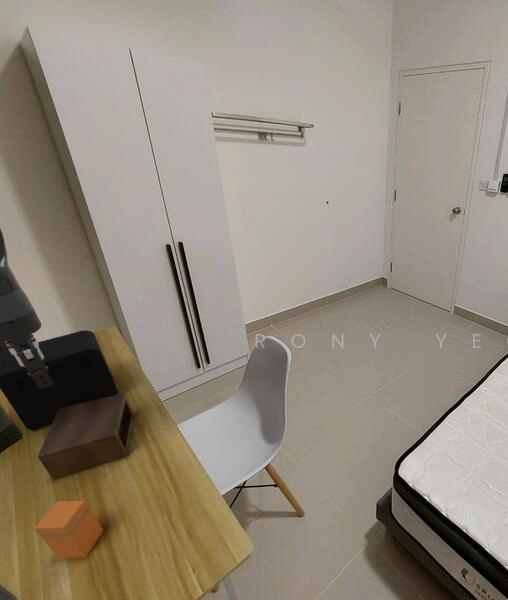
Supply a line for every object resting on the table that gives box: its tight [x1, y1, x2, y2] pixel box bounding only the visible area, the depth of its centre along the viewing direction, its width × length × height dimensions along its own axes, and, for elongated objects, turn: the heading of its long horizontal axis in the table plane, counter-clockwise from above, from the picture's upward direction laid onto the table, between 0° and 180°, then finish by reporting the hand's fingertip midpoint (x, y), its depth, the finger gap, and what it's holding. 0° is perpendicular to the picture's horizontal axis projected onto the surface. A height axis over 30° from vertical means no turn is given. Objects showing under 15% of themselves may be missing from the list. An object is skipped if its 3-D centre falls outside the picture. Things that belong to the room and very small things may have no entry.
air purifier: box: [0, 329, 120, 431], centre depth 96 cm, size 20×15×20 cm
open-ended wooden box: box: [37, 392, 135, 481], centre depth 86 cm, size 14×16×9 cm
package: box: [34, 500, 104, 559], centre depth 65 cm, size 5×5×11 cm
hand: (41, 377), depth 70 cm, fingers open, 8 cm apart
